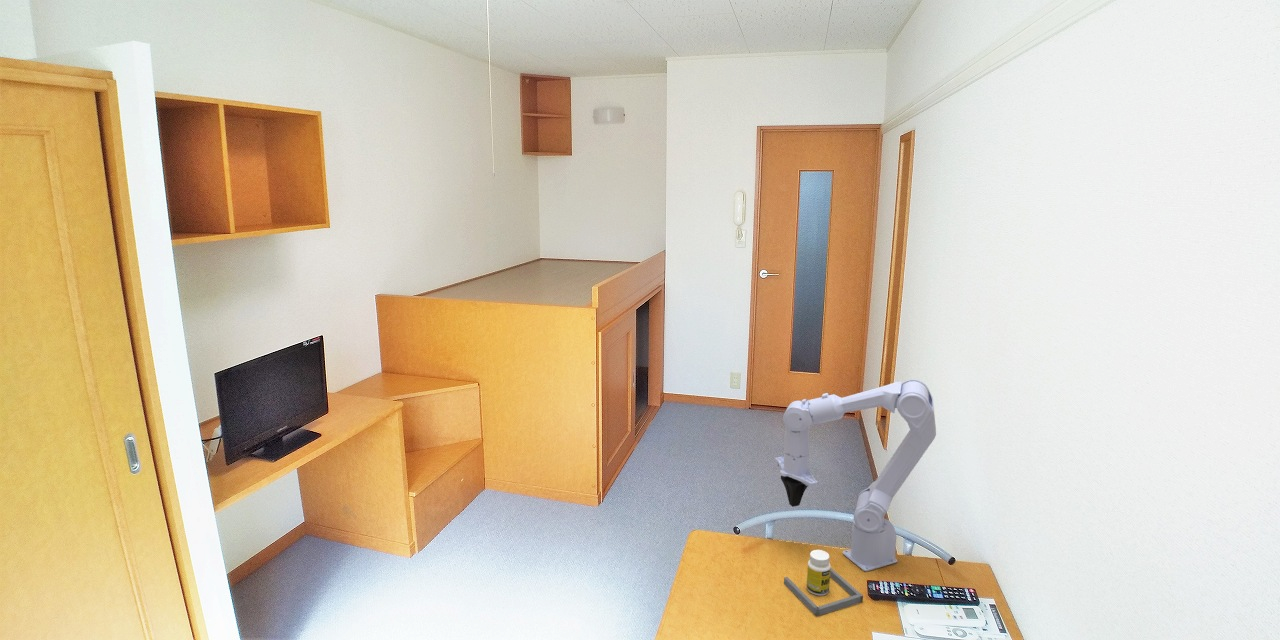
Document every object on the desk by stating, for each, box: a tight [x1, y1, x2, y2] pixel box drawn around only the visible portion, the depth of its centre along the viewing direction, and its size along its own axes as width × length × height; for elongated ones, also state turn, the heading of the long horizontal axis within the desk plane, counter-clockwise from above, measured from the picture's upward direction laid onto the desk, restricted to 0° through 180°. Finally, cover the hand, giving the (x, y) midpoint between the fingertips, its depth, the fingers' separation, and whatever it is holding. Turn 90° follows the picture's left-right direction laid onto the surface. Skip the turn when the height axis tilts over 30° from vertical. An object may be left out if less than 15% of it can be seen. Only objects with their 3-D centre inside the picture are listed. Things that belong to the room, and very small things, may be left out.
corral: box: [783, 567, 864, 618], centre depth 135 cm, size 12×12×2 cm
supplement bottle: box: [806, 549, 832, 597], centre depth 136 cm, size 5×5×8 cm
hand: (794, 504), depth 151 cm, fingers closed
